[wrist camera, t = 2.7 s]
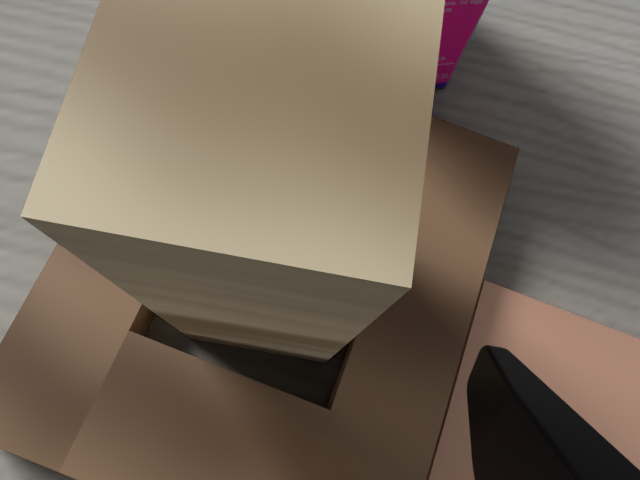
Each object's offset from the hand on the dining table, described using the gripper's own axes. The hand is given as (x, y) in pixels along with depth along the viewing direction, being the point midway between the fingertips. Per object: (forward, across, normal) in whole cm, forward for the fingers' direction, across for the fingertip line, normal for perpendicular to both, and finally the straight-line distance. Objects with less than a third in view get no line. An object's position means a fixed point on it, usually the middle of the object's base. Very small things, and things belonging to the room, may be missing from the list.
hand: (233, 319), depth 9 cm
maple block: (+9, 0, +5) cm, 10 cm away
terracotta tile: (+7, -11, +7) cm, 15 cm away
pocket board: (+9, 0, +5) cm, 10 cm away
